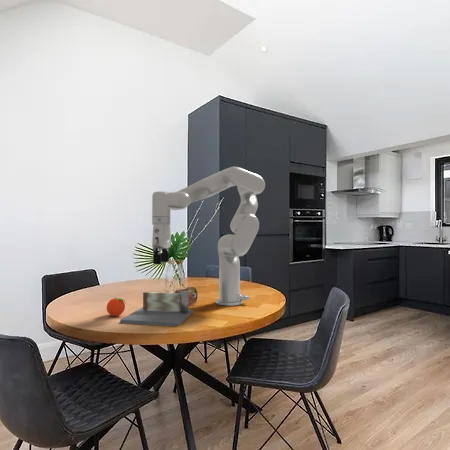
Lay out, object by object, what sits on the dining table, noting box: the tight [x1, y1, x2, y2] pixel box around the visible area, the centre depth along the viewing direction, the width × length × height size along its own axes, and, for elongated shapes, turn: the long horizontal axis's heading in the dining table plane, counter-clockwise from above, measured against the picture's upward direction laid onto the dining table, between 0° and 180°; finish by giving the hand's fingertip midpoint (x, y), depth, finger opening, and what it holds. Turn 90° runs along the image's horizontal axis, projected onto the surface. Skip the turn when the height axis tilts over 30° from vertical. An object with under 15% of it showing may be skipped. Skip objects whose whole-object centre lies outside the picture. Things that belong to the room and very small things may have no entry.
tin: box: [173, 286, 198, 309], centre depth 146 cm, size 15×3×8 cm, turn 148°
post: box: [181, 291, 189, 314], centre depth 131 cm, size 3×3×10 cm
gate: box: [142, 291, 180, 312], centre depth 133 cm, size 15×2×7 cm, turn 80°
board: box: [119, 306, 194, 327], centre depth 128 cm, size 22×19×1 cm
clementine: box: [106, 297, 127, 317], centre depth 131 cm, size 8×7×7 cm
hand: (161, 262), depth 139 cm, fingers open, 8 cm apart
